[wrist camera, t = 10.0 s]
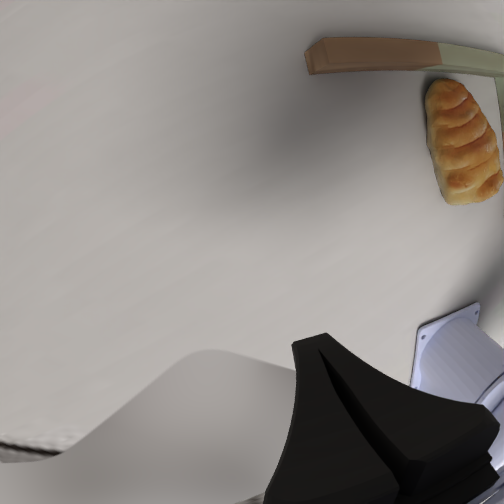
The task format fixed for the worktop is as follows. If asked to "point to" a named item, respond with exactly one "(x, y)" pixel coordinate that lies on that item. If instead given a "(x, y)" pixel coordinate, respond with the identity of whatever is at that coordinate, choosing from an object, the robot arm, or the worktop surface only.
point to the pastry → (461, 144)
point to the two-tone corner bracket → (405, 59)
